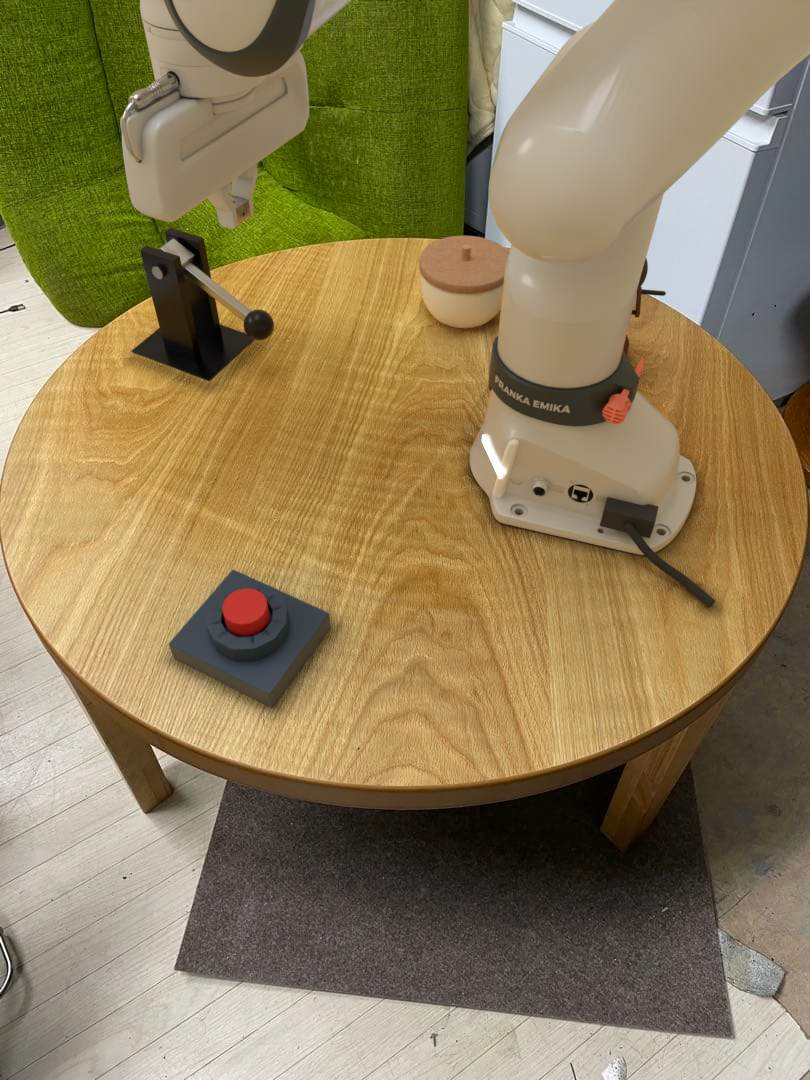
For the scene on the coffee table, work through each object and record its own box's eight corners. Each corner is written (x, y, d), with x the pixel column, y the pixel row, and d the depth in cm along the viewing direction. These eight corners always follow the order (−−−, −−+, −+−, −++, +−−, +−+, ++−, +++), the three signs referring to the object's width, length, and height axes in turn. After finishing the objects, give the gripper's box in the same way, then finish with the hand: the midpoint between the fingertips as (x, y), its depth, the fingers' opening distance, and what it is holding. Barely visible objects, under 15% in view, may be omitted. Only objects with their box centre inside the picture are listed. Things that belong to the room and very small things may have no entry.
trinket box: (509, 344, 101) (517, 273, 94) (417, 343, 101) (418, 272, 94) (504, 292, 108) (511, 222, 101) (418, 291, 108) (419, 221, 101)
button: (278, 611, 72) (275, 598, 70) (253, 643, 70) (250, 630, 68) (242, 594, 73) (239, 581, 71) (216, 625, 71) (213, 613, 69)
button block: (331, 627, 75) (328, 600, 72) (272, 708, 70) (266, 682, 67) (236, 584, 78) (229, 555, 75) (173, 658, 73) (163, 631, 70)
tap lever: (275, 335, 94) (283, 317, 91) (258, 351, 92) (266, 333, 90) (171, 254, 93) (177, 232, 91) (152, 268, 91) (157, 247, 89)
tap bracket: (257, 345, 101) (241, 236, 91) (211, 389, 96) (187, 279, 85) (182, 318, 104) (157, 211, 94) (133, 359, 99) (101, 250, 89)
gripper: (151, 111, 59) (191, 288, 70) (315, 17, 71) (328, 180, 82) (82, 94, 62) (131, 268, 72) (252, 5, 73) (273, 166, 84)
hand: (237, 220), depth 77 cm, fingers closed
